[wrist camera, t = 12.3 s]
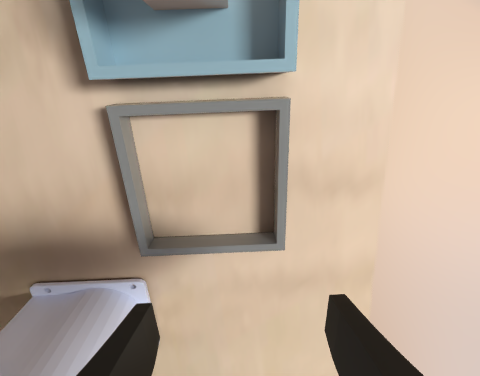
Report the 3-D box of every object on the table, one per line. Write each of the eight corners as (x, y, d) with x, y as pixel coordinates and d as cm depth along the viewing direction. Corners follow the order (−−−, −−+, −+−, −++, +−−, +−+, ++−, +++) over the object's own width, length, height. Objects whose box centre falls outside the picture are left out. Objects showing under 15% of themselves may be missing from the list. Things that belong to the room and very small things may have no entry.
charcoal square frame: (147, 244, 20) (141, 256, 19) (116, 103, 16) (105, 106, 15) (281, 238, 20) (284, 250, 19) (285, 96, 16) (290, 98, 15)
